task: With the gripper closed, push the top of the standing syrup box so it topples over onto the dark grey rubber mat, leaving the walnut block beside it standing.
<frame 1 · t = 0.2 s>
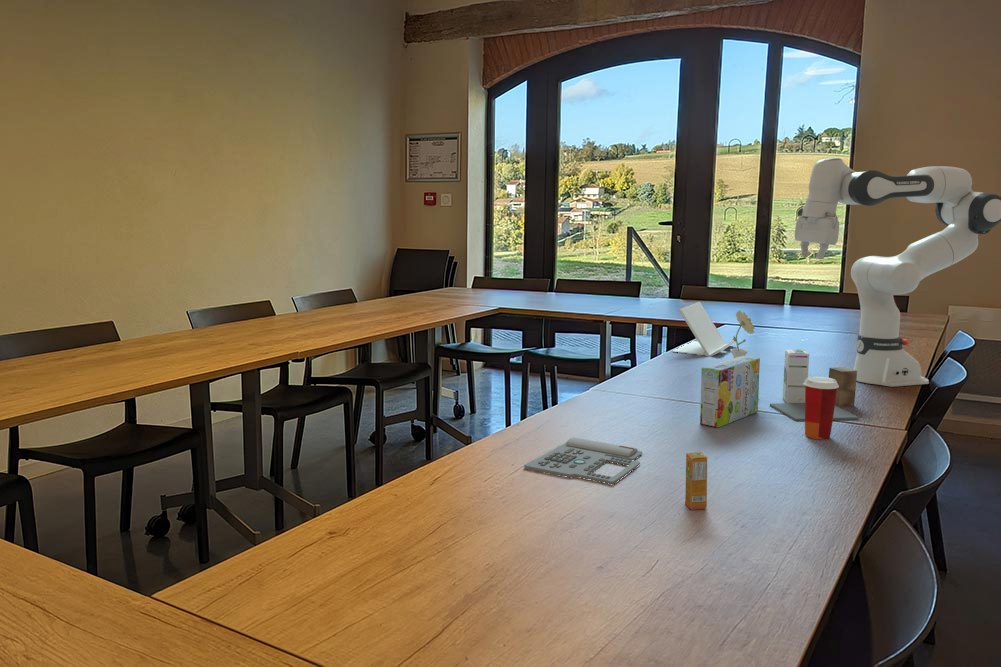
hand: (811, 257, 231), 39 cm above the table, tool pointing down, fingers open, 8 cm apart
supplement box: (694, 507, 139), on the table
paper cup: (817, 437, 181), on the table
snack box: (729, 419, 197), on the table
syrup box: (794, 402, 214), on the table
mat: (812, 412, 202), on the table
flower in vase: (736, 396, 219), on the table
walnut block: (840, 404, 211), on the table
tablet stand: (704, 350, 290), on the table
office telephone: (590, 464, 164), on the table
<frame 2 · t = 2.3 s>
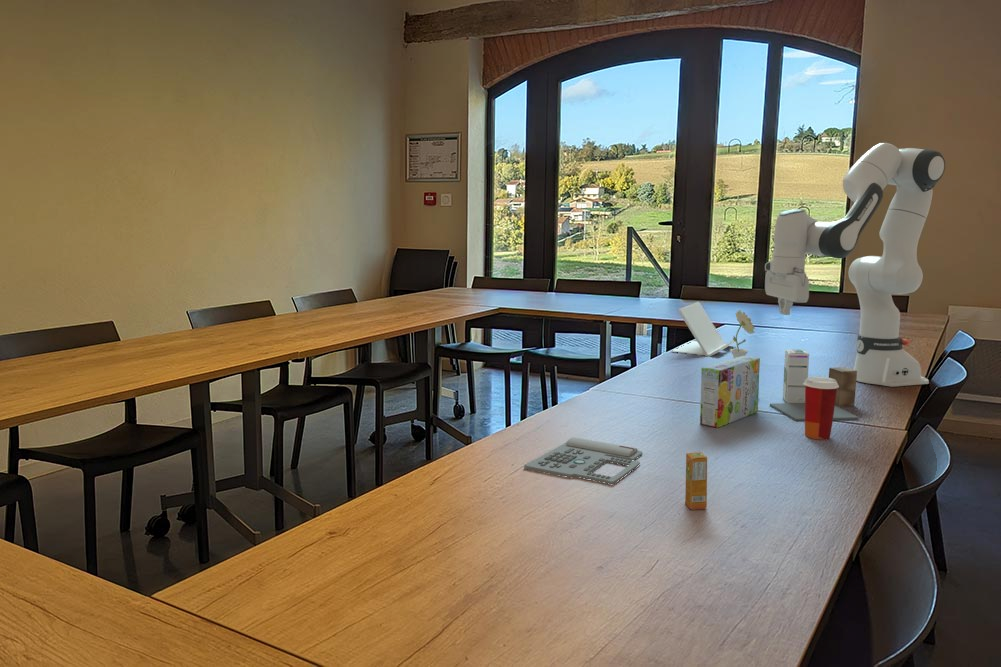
hand: (784, 314, 219), 24 cm above the table, tool pointing down, fingers closed
nothing on the table moved.
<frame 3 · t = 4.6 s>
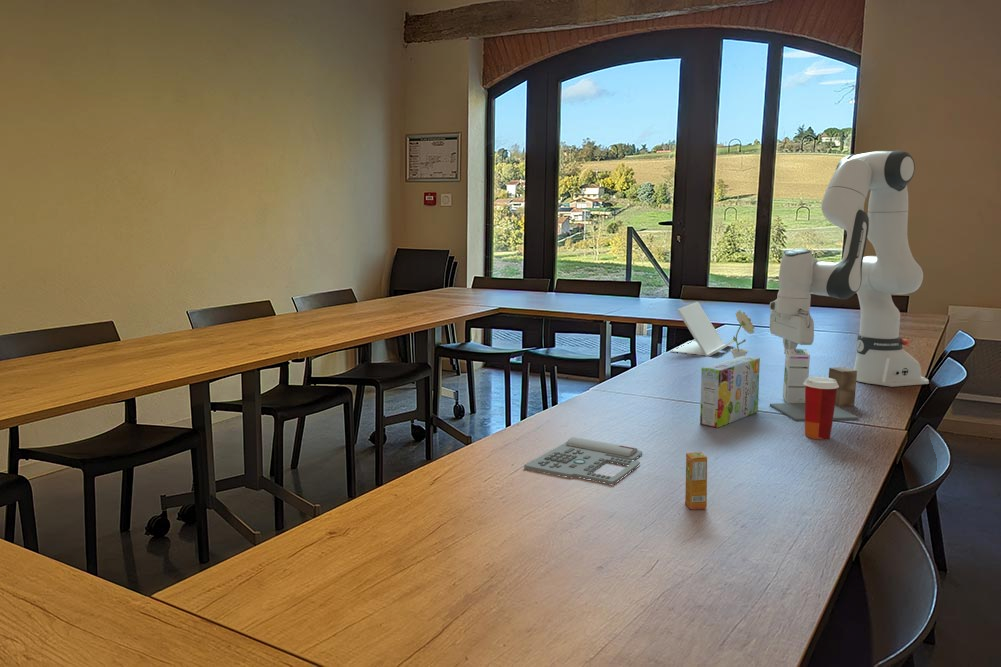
hand: (789, 355, 215), 13 cm above the table, tool pointing down, fingers closed
syrup box: (793, 401, 214), on the table, touching gripper
everything else where it was.
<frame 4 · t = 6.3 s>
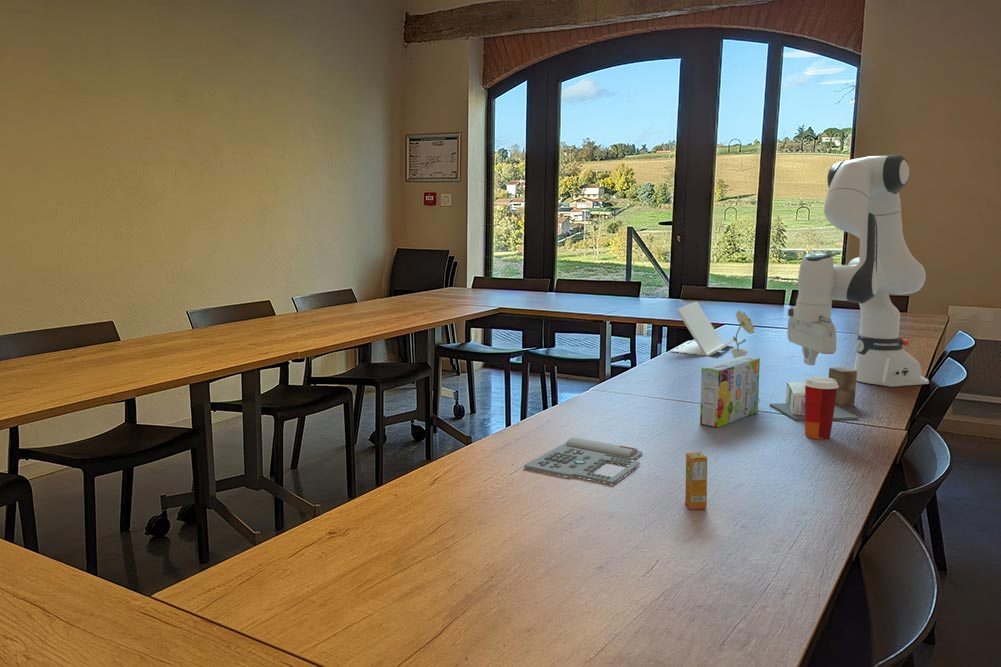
hand: (809, 364, 204), 12 cm above the table, tool pointing down, fingers closed
syrup box: (796, 391, 211), point 3 cm above the table, touching mat
everything else where it was.
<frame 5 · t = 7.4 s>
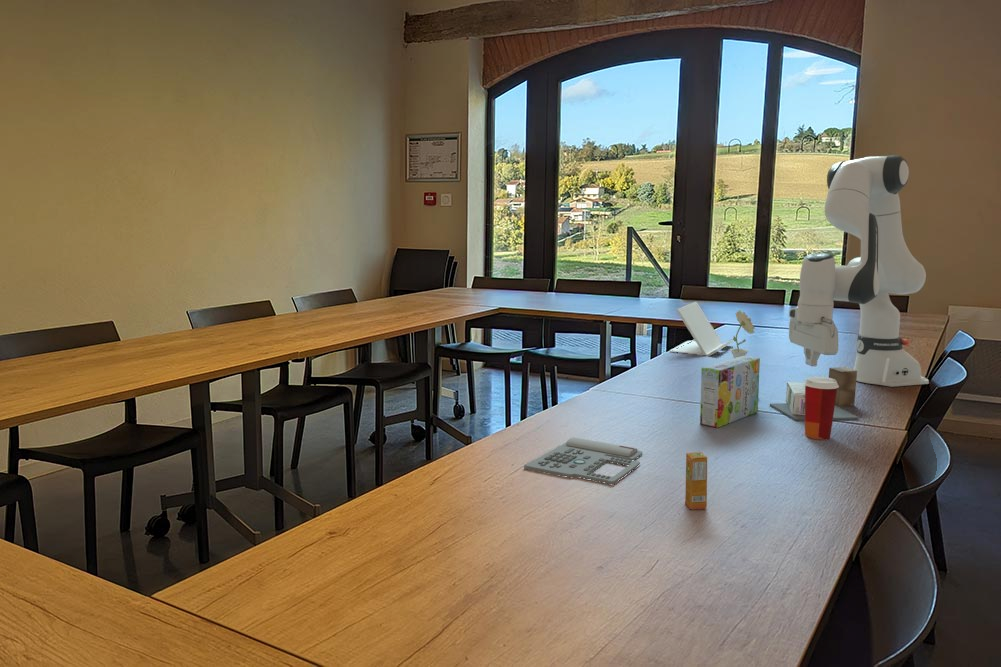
hand: (811, 365, 204), 12 cm above the table, tool pointing down, fingers closed
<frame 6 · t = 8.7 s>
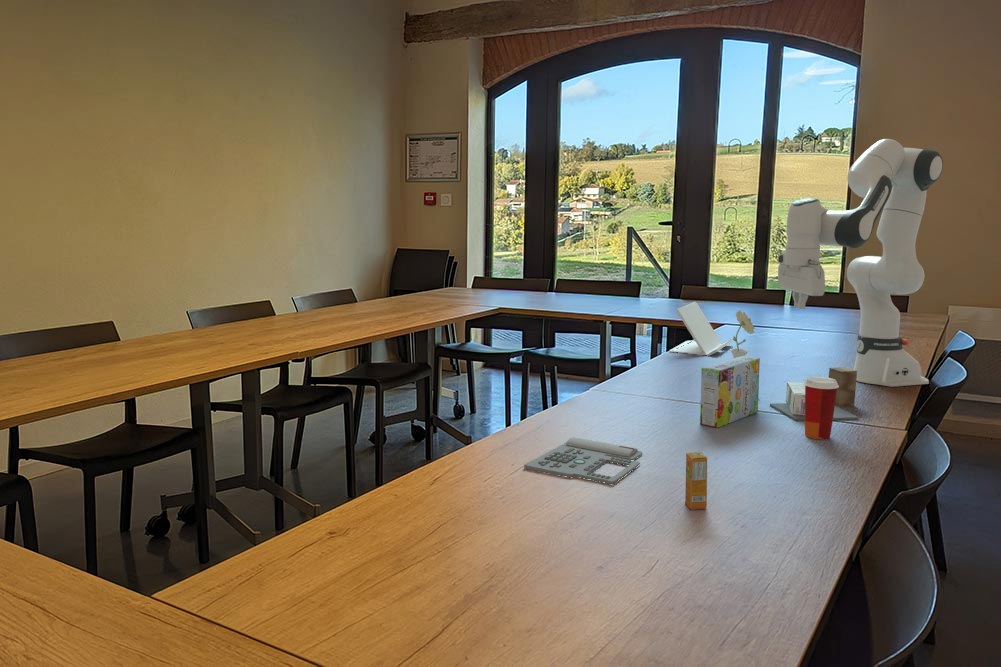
hand: (799, 308, 210), 26 cm above the table, tool pointing down, fingers closed
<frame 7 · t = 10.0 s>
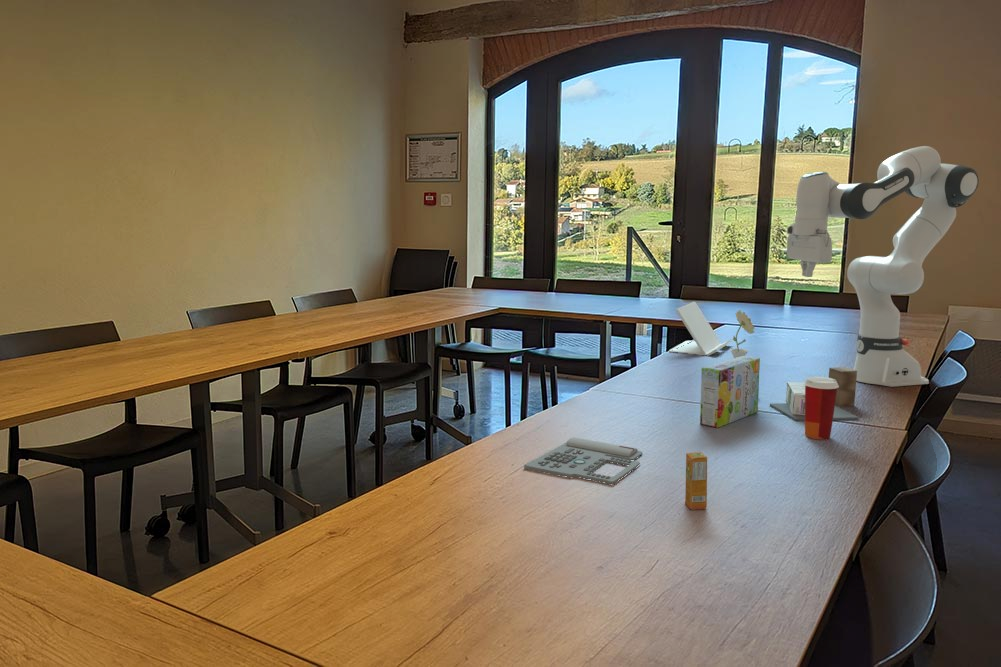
hand: (807, 276, 221), 34 cm above the table, tool pointing down, fingers closed
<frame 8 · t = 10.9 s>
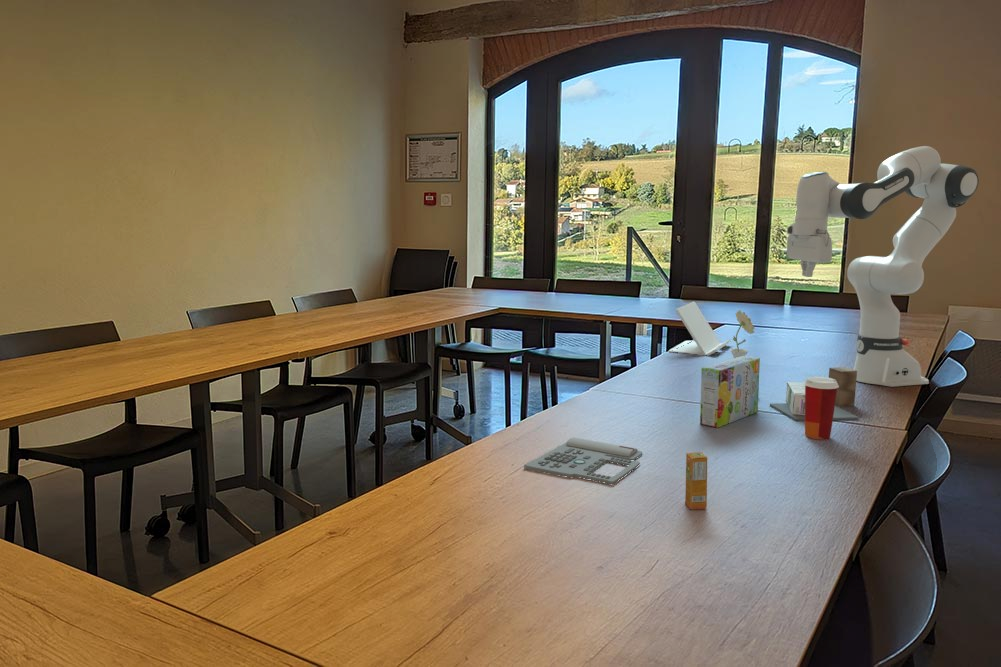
hand: (807, 276, 221), 34 cm above the table, tool pointing down, fingers closed
at the end: syrup box tilted 90°; syrup box inside the target area (8.5 cm from its centre), point 3.4 cm above the table; walnut block tilted 0° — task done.
